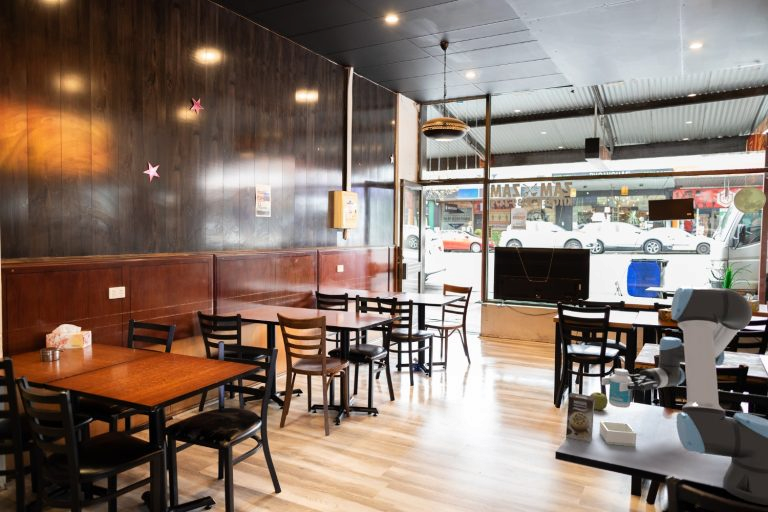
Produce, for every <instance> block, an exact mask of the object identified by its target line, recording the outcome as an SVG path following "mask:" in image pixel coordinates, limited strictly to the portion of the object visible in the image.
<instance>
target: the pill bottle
mask: <svg viewBox="0 0 768 512" xmlns="http://www.w3.org/2000/svg"><path fill="white" fill-rule="evenodd" d="M613 372H614V373H612V374H613V375H611V377H610V384H609V392H608V393H609V394H608V403H609V405H611V406H613V407H616V408H623V409H624V408H626V409H627V408H629V407H630V406H631V399H632V398H631V396H632V390H628V391H619V390H620V384H621V383H628V382H632V380H631V378H630V377H629V376H627V375H628V373H629V371H628V370H627V369H625V368H614V371H613Z"/></svg>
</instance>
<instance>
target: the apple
mask: <svg viewBox="0 0 768 512" xmlns="http://www.w3.org/2000/svg"><path fill="white" fill-rule="evenodd" d="M589 396H593V397H595V402H594V410H597V411H603V410H604V409H606V407H607V405H608V403H609V399H608V396H606V395H605V394H604V393H602V392H592V393H591V394H590V395H589Z"/></svg>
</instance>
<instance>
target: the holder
mask: <svg viewBox="0 0 768 512" xmlns="http://www.w3.org/2000/svg"><path fill="white" fill-rule="evenodd" d="M599 435H600V437H601V438H602V439H603V441H604V440H605V441H604V442H605V444H606V443H607V444H606V445H613V444H614V445H615V446H623V445H624V446H626V447H636V445H637V444H636V443H637V432H636V431H635V429H633V428H632V426H631V425H630V424H629V423H627V422H616V421H614V422H613V421H606V420H605V421H604V420H603V421H602V420H600V421H599Z"/></svg>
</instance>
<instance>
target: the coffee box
mask: <svg viewBox="0 0 768 512" xmlns="http://www.w3.org/2000/svg"><path fill="white" fill-rule="evenodd" d="M594 402H595V397H593V396H590V395H588V394H587V395H586V394H582V393H574V392H570V393H569V395H568V398H567V415H566V416H567V418H566V434H565V438H567V437H568V438H567V439H572V440H575V441H576V440H577V441H581V442H587V443H591V442H592V440H593V431H594V430H593V429H594V415H595V409H594Z"/></svg>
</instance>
